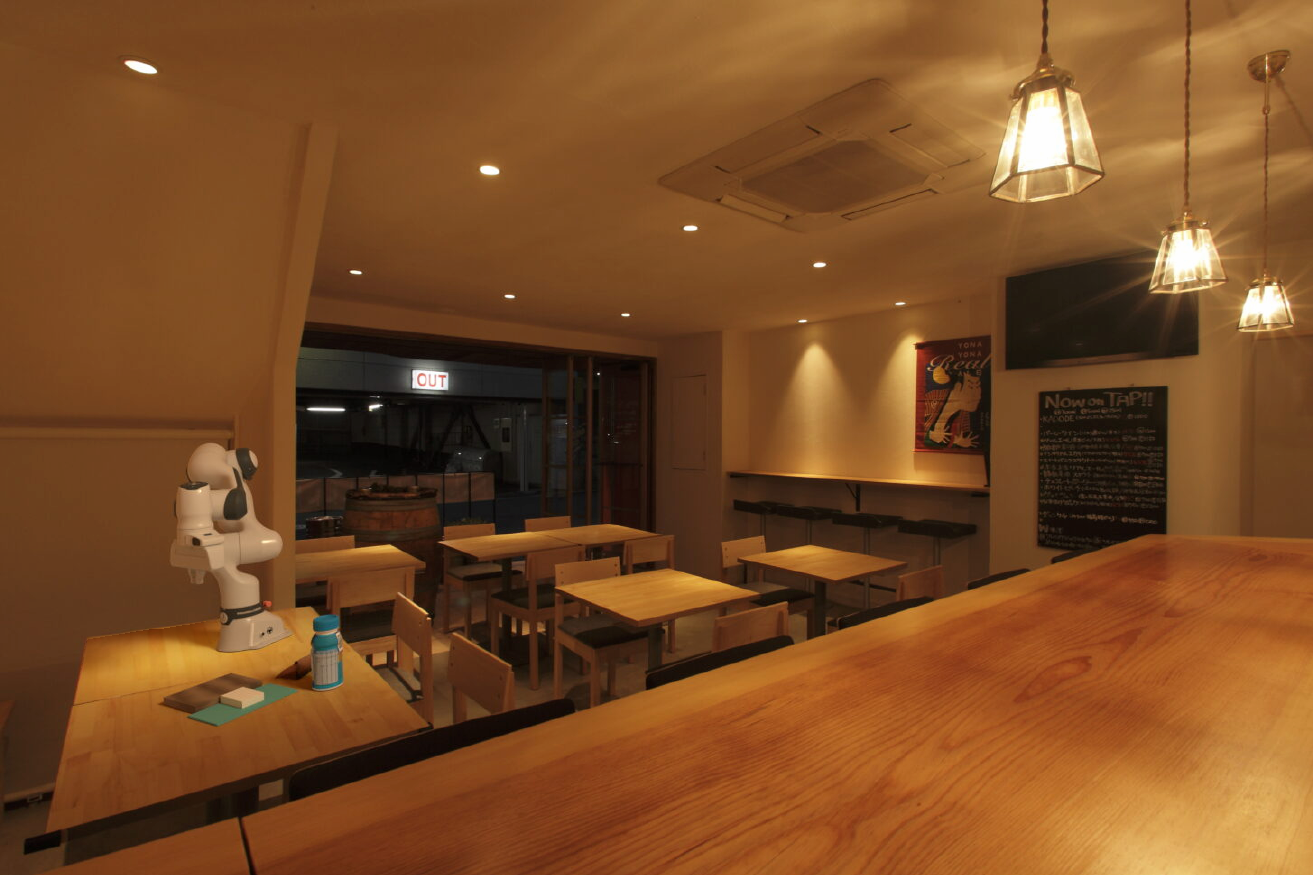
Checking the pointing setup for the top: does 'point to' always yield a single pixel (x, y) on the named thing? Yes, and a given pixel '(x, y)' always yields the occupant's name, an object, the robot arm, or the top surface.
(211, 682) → the brown wooden board
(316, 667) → the beverage bottle
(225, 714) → the mat
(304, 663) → the sunglasses case
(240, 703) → the tile
